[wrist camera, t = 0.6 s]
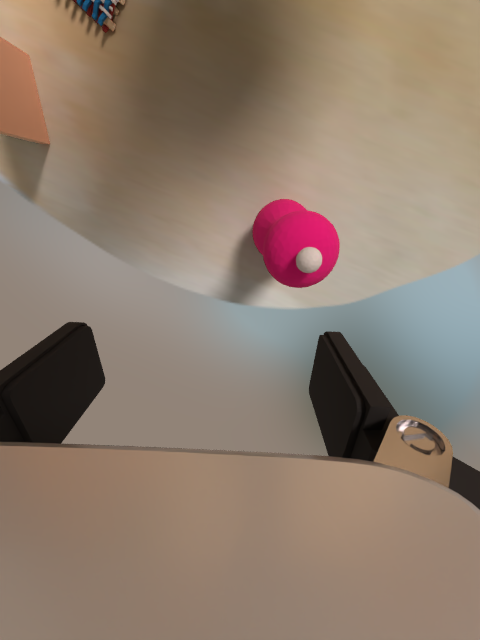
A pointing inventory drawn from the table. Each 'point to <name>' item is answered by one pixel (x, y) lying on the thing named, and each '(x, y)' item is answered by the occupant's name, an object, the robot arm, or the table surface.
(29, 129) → the tile
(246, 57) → the table surface
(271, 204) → the pepper mill
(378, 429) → the robot arm
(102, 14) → the woven mat
